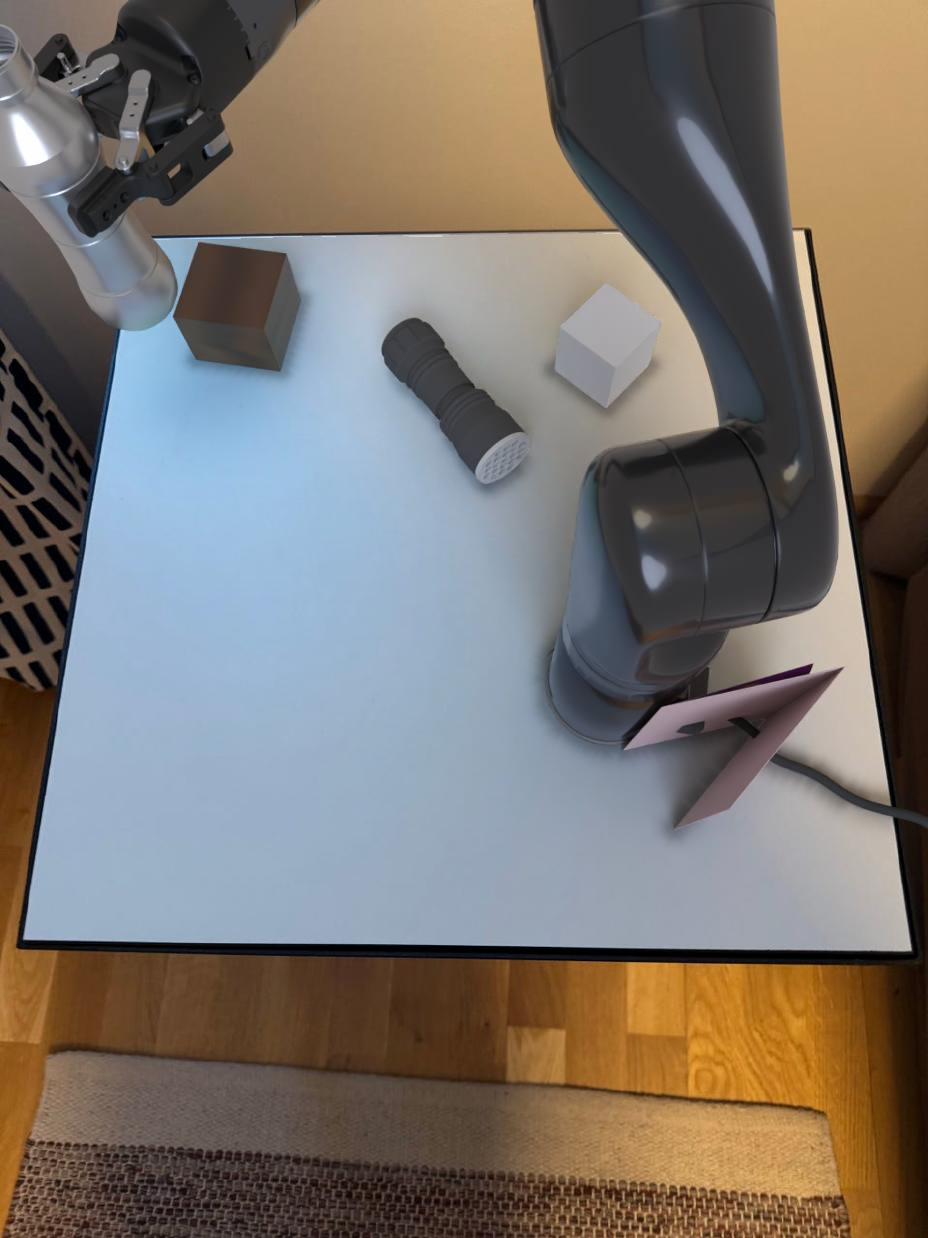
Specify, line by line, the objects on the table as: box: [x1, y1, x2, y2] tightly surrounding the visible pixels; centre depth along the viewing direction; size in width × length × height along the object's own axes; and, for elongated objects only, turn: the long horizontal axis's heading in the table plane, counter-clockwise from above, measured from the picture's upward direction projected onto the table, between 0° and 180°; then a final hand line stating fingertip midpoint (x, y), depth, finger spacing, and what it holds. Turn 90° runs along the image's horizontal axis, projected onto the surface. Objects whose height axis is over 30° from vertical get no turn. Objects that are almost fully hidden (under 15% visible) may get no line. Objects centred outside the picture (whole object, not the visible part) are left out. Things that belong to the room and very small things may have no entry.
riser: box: [172, 241, 302, 372], centre depth 74 cm, size 8×8×6 cm
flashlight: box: [380, 317, 532, 485], centre depth 71 cm, size 15×5×5 cm, turn 36°
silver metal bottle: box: [0, 23, 179, 332], centre depth 53 cm, size 6×7×20 cm
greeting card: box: [622, 662, 846, 831], centre depth 56 cm, size 11×7×15 cm, turn 102°
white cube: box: [554, 282, 663, 409], centre depth 72 cm, size 6×6×6 cm
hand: (37, 201), depth 50 cm, fingers closed on silver metal bottle, 6 cm apart
